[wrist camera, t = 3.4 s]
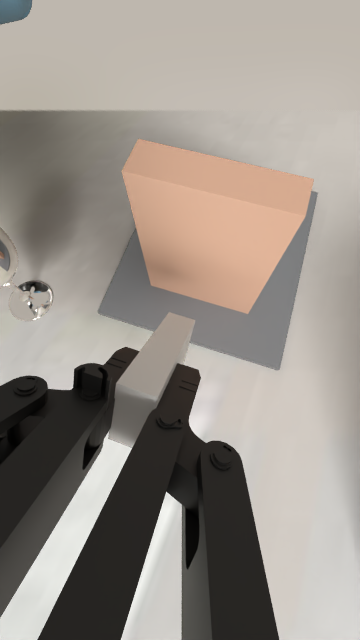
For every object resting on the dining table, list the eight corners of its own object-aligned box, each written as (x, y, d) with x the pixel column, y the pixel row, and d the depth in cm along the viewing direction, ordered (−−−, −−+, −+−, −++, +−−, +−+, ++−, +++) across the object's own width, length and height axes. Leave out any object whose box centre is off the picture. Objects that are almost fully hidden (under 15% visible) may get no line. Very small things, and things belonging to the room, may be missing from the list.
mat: (277, 370, 26) (279, 369, 26) (99, 314, 28) (97, 311, 28) (315, 196, 33) (317, 192, 32) (168, 161, 35) (167, 157, 34)
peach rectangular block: (247, 314, 27) (305, 216, 14) (150, 285, 29) (121, 170, 15) (254, 288, 28) (315, 173, 15) (160, 261, 30) (140, 133, 16)
